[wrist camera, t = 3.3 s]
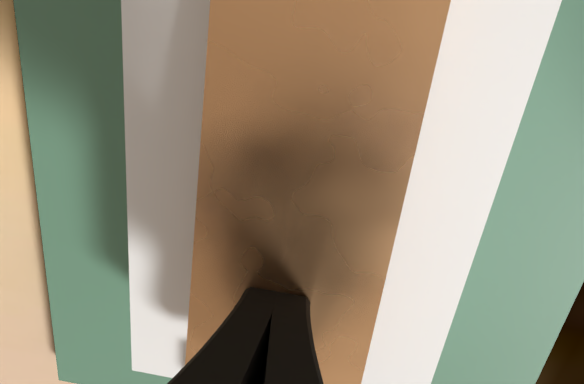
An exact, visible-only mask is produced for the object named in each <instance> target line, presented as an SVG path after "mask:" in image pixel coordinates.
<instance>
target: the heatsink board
mask: <svg viewBox="0 0 584 384" xmlns="http://www.w3.org/2000/svg"><path fill="white" fill-rule="evenodd" d="M13 2H14V11H15V19H16V27H17V36H18V44H19V52H20V61H21V69H22V77H23V86H24V94H25V102H26V111H27V119H28V127H29V136H30V144H31V152H32V161H33V169H34V177H35V186H36V194H37V202H38V211H39V219H40V227H41V236H42V244H43V252H44V261H45V269H46V277H47V286H48V294H49V302H50V311H51V319H52V327H53V336H54V344H55V352H56V361H57V369H58V377H59V380H62V381H67V382H72V383H77V384H167V383H168V382H169V381H170V380H171V379H172V378H173V377H174V376H175V375H176V374H177V373H178V372H179V371H180V370H181V369H182V368H183V367H184V366H185V358H186V343H187V329H188V315H189V300H190V286H191V271H192V257H193V242H194V228H195V213H196V199H197V185H198V170H199V156H200V141H201V127H202V112H203V98H204V83H205V69H206V55H207V40H208V26H209V11H210V0H13ZM583 282H584V0H451V2H450V6H449V11H448V15H447V19H446V23H445V28H444V32H443V36H442V41H441V45H440V49H439V53H438V58H437V62H436V66H435V70H434V75H433V79H432V83H431V88H430V92H429V96H428V100H427V105H426V109H425V113H424V117H423V122H422V126H421V130H420V135H419V139H418V143H417V147H416V152H415V156H414V160H413V164H412V169H411V173H410V177H409V182H408V186H407V190H406V194H405V199H404V203H403V207H402V211H401V216H400V220H399V224H398V228H397V233H396V237H395V241H394V246H393V250H392V254H391V258H390V263H389V267H388V271H387V275H386V280H385V284H384V288H383V293H382V297H381V301H380V305H379V310H378V314H377V318H376V322H375V327H374V331H373V335H372V340H371V344H370V348H369V352H368V357H367V361H366V365H365V369H364V374H363V378H362V382H361V384H535V383H536V381H537V379H538V377H539V375H540V373H541V371H542V368H543V366H544V364H545V362H546V360H547V358H548V356H549V354H550V351H551V349H552V347H553V345H554V343H555V341H556V339H557V337H558V335H559V332H560V330H561V328H562V326H563V324H564V322H565V320H566V318H567V315H568V313H569V311H570V309H571V307H572V305H573V303H574V301H575V298H576V296H577V294H578V292H579V290H580V288H581V286H582V284H583Z"/></svg>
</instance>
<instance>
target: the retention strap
mask: <svg viewBox="0 0 584 384" xmlns="http://www.w3.org/2000/svg"><path fill="white" fill-rule="evenodd" d="M450 2H451V0H210V11H209V26H208V40H207V55H206V69H205V83H204V98H203V112H202V127H201V141H200V156H199V170H198V185H197V199H196V213H195V228H194V242H193V257H192V271H191V286H190V300H189V315H188V329H187V343H186V358H185V365H186V364H187V363H188V362H189V361H190V360H191V359H192V358H193V357H194V356H195V354H196V353H197V352H198V351H199V350H200V349H201V348H202V347H203V345H204V344H205V343H206V342H207V341H208V340H209V338H210V337H211V336H212V335H213V334H214V333H215V331H216V330H217V329H218V328H219V327H220V325H221V324H222V323H223V321H224V320H225V319H226V318H227V316H228V315H229V314H230V312H231V311H232V310H233V308H234V307H235V305H236V304H237V302H238V301H239V299H240V298H241V296H242V294H243V293H244V291H245V290H246V289H248V288H250V287H254V288H260V289H265V290H271V291H277V292H282V293H288V294H293V295H299V296H305V297H307V298H308V299H309V301H310V302H311V304H310V317H311V327H312V334H313V340H314V346H315V351H316V355H317V360H318V364H319V368H320V372H321V376H322V380H323V383H324V384H361V382H362V378H363V374H364V369H365V365H366V361H367V357H368V352H369V348H370V344H371V340H372V335H373V331H374V327H375V322H376V318H377V314H378V310H379V305H380V301H381V297H382V293H383V288H384V284H385V280H386V275H387V271H388V267H389V263H390V258H391V254H392V250H393V246H394V241H395V237H396V233H397V228H398V224H399V220H400V216H401V211H402V207H403V203H404V199H405V194H406V190H407V186H408V182H409V177H410V173H411V169H412V164H413V160H414V156H415V152H416V147H417V143H418V139H419V135H420V130H421V126H422V122H423V117H424V113H425V109H426V105H427V100H428V96H429V92H430V88H431V83H432V79H433V75H434V70H435V66H436V62H437V58H438V53H439V49H440V45H441V41H442V36H443V32H444V28H445V23H446V19H447V15H448V11H449V6H450Z"/></svg>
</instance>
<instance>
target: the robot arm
mask: <svg viewBox="0 0 584 384" xmlns="http://www.w3.org/2000/svg"><path fill="white" fill-rule="evenodd" d="M310 304H311V302H310V301H309V299H308V298H307V297H305V296H299V295H293V294H288V293H282V292H277V291H271V290H265V289H260V288H254V287H250V288H248V289H246V290H245V291H244V293H243V294H242V296H241V298H240V299H239V301H238V302H237V304H236V305H235V307H234V308H233V310H232V311H231V312H230V314H229V315H228V316H227V318H226V319H225V320H224V321H223V323H222V324H221V325H220V327H219V328H218V329H217V330H216V331H215V333H214V334H213V335H212V336H211V337H210V338H209V340H208V341H207V342H206V343H205V344H204V345H203V347H202V348H201V349H200V350H199V351H198V352H197V353H196V354H195V356H194V357H193V358H192V359H191V360H190V361H189V362H188V363H187V364H186V365H185V366H184V367H183V368H182V369H181V370H180V371H179V372H178V373H177V374H176V375H175V376H174V377H173V378H172V379H171V380H170V381H169V382H168V383H167V384H324V383H323V380H322V376H321V372H320V368H319V364H318V360H317V355H316V351H315V346H314V340H313V334H312V327H311V317H310Z"/></svg>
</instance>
